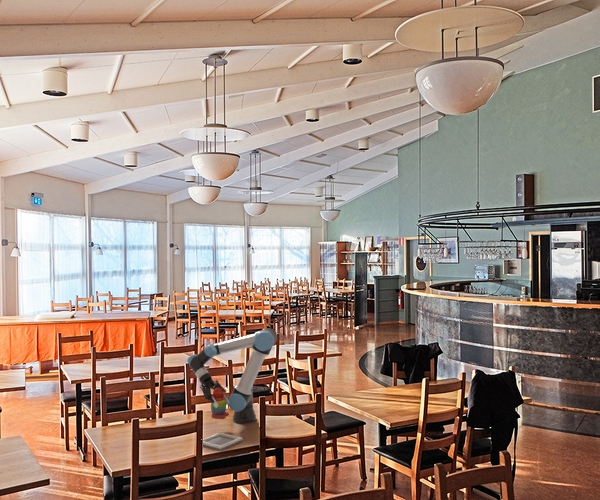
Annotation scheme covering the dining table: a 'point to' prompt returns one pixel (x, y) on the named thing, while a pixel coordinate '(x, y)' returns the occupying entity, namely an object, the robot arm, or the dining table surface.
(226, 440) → the white square tray
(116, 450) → the dining table surface
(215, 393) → the stacking bear
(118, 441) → the dining table surface
